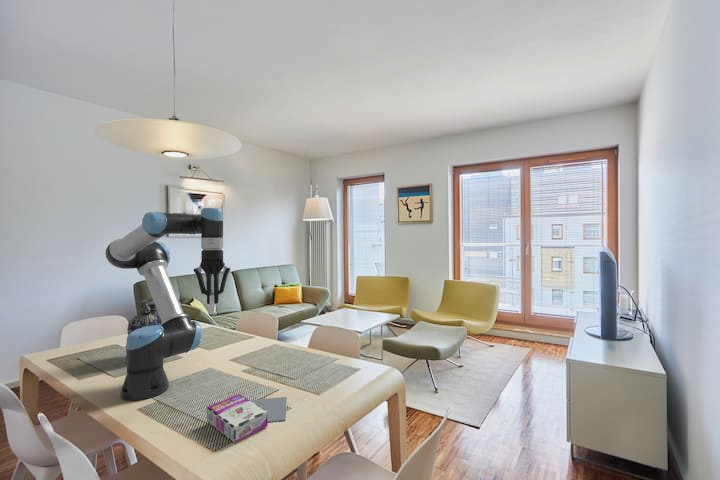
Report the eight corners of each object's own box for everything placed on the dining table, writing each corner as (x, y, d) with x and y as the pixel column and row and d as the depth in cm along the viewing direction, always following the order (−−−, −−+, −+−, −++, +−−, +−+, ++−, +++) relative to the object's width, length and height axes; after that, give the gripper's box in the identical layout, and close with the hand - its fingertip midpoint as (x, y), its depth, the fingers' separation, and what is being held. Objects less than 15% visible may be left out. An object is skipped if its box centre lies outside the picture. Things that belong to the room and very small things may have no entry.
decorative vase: (169, 361, 160) (168, 301, 160) (122, 367, 153) (121, 305, 153) (175, 348, 180) (174, 295, 180) (134, 353, 173) (132, 298, 173)
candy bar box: (206, 422, 105) (233, 444, 94) (206, 406, 105) (233, 427, 94) (240, 408, 113) (268, 426, 103) (239, 393, 113) (268, 410, 102)
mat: (224, 427, 103) (224, 426, 103) (233, 402, 119) (233, 401, 119) (285, 420, 106) (285, 419, 106) (286, 397, 122) (286, 396, 122)
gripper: (190, 249, 123) (191, 315, 123) (228, 249, 125) (229, 313, 125) (196, 249, 130) (196, 311, 130) (232, 249, 133) (232, 309, 133)
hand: (212, 312), depth 128 cm, fingers closed
